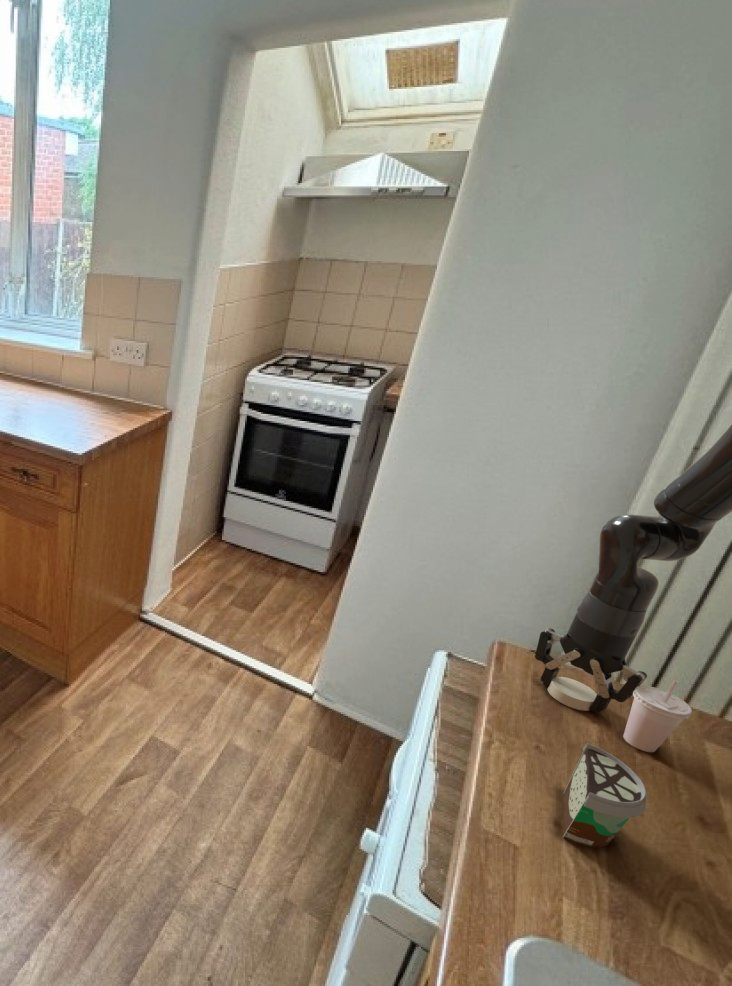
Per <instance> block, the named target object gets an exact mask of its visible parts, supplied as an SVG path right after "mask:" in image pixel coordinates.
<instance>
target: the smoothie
mask: <svg viewBox="0 0 732 986" xmlns="http://www.w3.org/2000/svg"><path fill="white" fill-rule="evenodd" d="M679 682H680V681H679V680H678V679H676V678H673V680H672V681H671V683H670V685H669V687H668V688H667V690H665V689H661V688H658V687H654V686H649V685H640V686H638V687H636V689H635V690H634V691H633V695H632V696H633V701H632V704H631V708H630V711H629V715H628V718H627V722H626V725H625V728H624V732H623V736H622V737H623V739H624V741H625V742H626V743H628V744H629V745H631V746H632V747H634V748H636V749H637V750H640V751H643V752H646V753H655V752H656V751H657V750H658V749H659V748H660V746H661V745H662V744H663V743H664V742H665V741H666V740H667V739H668V737H669V736H671V734H672V733H673V732H674V731H675V730H676V729H677V728H678V726H679V725H680V724H681V723H682V722H683V721H684V720H687V719H690V717H691V714H692V713H693V710H692V707H691V706H690V705H689V704H688V703H687V702H686V701H684V700H683V699H682V698H680V697H678V696H677V695H675V694H673V692H674V691H675V689H676V687H677V685H678V684H679Z"/></svg>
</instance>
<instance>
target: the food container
mask: <svg viewBox="0 0 732 986" xmlns="http://www.w3.org/2000/svg"><path fill="white" fill-rule="evenodd" d="M581 752H582V754H581V756H580V757H579V760H578V762H577V764H576V766H575V768H574V770H573V771H572V773H571V774H572V775H571V777H570V778H569V781H568V783H567V785H566V788H565V789H564V792H563V794H562V795H563V796H564V797H563V812H564V813H563V829H564V830H563V833H564V834H563V836H562V838H563V839H564V840H565V839H566V840H567V841H570V842H572V843H573V844H578V845H581V846H584V847H588V848H603V847H607V846H608V845H609V844H610V843H611V842H612V840H613V839H614V838H615V837H616V835H617V834H618V833H619V831H620V830H621V829H622V828H623V827H624V825H625V824H626V823H627V822H628V820H629V819H630V818H636V817H638V816H641V815H642V814H643V813H644V812H645V810H646V806H647V797H648V796H647V792H646V787H645V785H644V783H643V781H642V779H640V777H639V776H638V774H637V773H635V772H634V771H633V769H631V768H630V767H629V766H628V765H627V764H626V763H624V761H621V760H620V759H619V758H617V757H616V756H614V755H613V754H611V753H609V752H607V751H606V750H605V749H602V748H601V747H598V746H597V745H594V744H592V743H590V742H587V743H586V744H585V746H584V747H583V749H582V751H581Z"/></svg>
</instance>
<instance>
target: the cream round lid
mask: <svg viewBox="0 0 732 986" xmlns="http://www.w3.org/2000/svg"><path fill="white" fill-rule="evenodd" d="M547 692H548V694H549V695H550V696H551V697H553V699H555V700H556V701H557V702H559V703H560V704H562V705H565V706H567V707H569V708H571V709H574V710H578V711H585V712H589V711H590V708H591V706H592V704H593V702H594V700H595V698H596V696H597V694H598V693H596V692H595V691H594V690H593V689H592V688H591V687H589V686H588V685H586V684H584V683H582V682H580V681H578V680H576V679H573V678H569V677H565V676H556V677H554V678H552V680H551V682H550V684H549V686H548V687H547Z"/></svg>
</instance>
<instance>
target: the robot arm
mask: <svg viewBox="0 0 732 986" xmlns="http://www.w3.org/2000/svg"><path fill="white" fill-rule="evenodd" d="M653 507H654V509H655V511H656V512H657V513H658V514H659V515H660V516H654V515H653V516H652V515H642V514H641V515H639V514H620V515H616V516H614V517H612V518H611V519H609V520H608V521H606V522H605V524H604V525H603V526H602V528H601V530H600V534H599V548H598V569H597V573H596V575H595V577H594V579H593V581H592V584H591V586H590V587H589V590H588V592H587V593H586V594H585V595H584V597H583V599H582V601H581V603H580V604H579V605H578V606H577V609H576V613H575V615H574V618H573V619H572V621H571V624H570V626H569V628H568V630H567V633H566V634H564V635H563V634H560V633H558V632H556V630H555V629H554V628H550V627H549V628H547V629H545V630H542V631H541V632H540V633H539V638H538V643H537V646H536V651H535V653H534V658H535V659H536V661H539V662H542V663H543V665H544V670H543V672H542V674H541V676H540V680H541V682H542V685H543V686H544V687H546V688H548V686H549V684H550V682H551V680H552V678H554V677H558V674H559V672H560V669H561V668H559V667H561V666H562V665H563V666H564V665H566V664H568V663H570V665H571V666H573V667H575V668H578V669H581V670H583V671H584V672H586V673H587V674H589V675H591V676H593V679H594V683H595V684H596V685H597V689H598V692H599V693H596V694H597V696H596V698H595V700H594V702H593V704H592V706H591V708H590V710H589V711H591V712H592V713H594V714H595V713H597V712H599V713H601V712H603V711H605V710H606V709H607V708H608V706H609V705H610V703H611V700H616V701H617V702H618V703H624V702H625V701H627V700H629V699H630V698H632V696H633V691H634V690H635V689H636V687H638V686H642V684H643V683H644V681H645V680H646V679H647V677H648V675H647V673H646V672H644V671H642V670H638V671H637V670H635V669H633V668H631V667H630V666H628V665H627V663H626V657H627V655H628V653H629V651H630V649H631V647H632V646H633V643H634V641H635V639H636V637H637V635H638V634H639V632H640V629H641V627H642V626H643V624H644V621H645V618H646V613H647V611H648V608H649V607H650V605H651V603H652V601H653V599H654V597H655V596H656V594H657V591H658V588H659V583H660V582H659V579H658V577H657V576H656V575H655V574H653V573H652V572H650V571H649V570H647V569H645V568H642V567H639V566H638V565H639V562H640V561H641V560H651V561H661V562H674V561H679V560H683V559H686V558H688V557H690V556H692V555H694V554H695V553H696V552H697V551H699V550H700V548H701V547H702V545H703V544H704V542H705V541H706V539H707V538H708V536H710V534H711V533H712V531H713V529H714V527H715V525H716V524H717V522H719V521H721V520H722V519H723V518H724V517H727V515H729V514H730V513H732V424H731V425H730V426H729V427H728V428H727V429H726V431H725V432H724V433H722V435H721V436H720V437H719V438H718V440H717V441H715V443H714V444H713V445H712V446H711V447H710V448H709V449H708V450H707V451H706V452H705V453H704V454H703V455H702V456H701V457H699V459H698V460H696V461H695V462H694V463H693V464H692V465H690V466H689V467H688V468H686V470H684V471H683V472H682V473H681V474H679V475H678V476H677V477H676V478H675V479H673V480H672V481H671V482H670V483H669V484H668V485H667V486H666V487H664V488H663V489H662V490H660V492H659V493H657V495H656V496H655V498H654V500H653ZM558 642H559V644H560V645H561V648H562V651H563V654H561V655H560V656H557V657H555V658H554V657H553V656H551V652H552V648H553V645H554V644H556V643H558ZM617 672H622V674H623V676H622V677H623V680H624V681H625V683H624V684H623V686H622V687H621V688H620V689H616V687H615V682H614V681H615V677H614V673H617Z"/></svg>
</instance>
